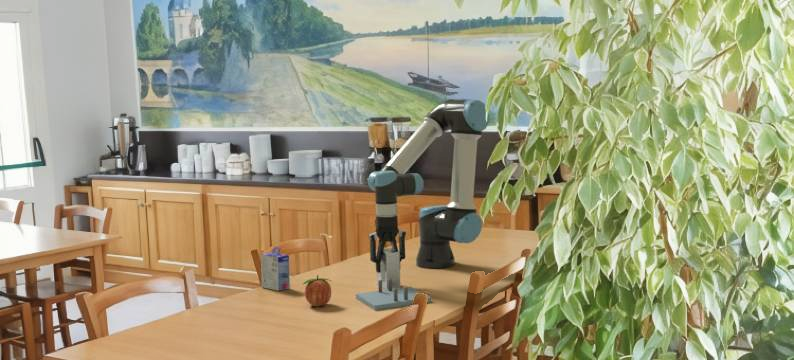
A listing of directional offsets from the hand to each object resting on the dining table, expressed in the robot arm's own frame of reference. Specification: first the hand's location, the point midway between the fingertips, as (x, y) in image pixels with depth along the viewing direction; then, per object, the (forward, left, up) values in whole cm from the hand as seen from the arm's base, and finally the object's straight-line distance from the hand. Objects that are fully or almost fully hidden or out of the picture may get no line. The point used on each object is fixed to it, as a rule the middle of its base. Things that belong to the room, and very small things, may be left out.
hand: (388, 280), depth 297 cm
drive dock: (+6, +18, -2) cm, 19 cm away
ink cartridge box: (+36, -18, -3) cm, 40 cm away
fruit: (+30, +12, -3) cm, 32 cm away
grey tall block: (0, 0, -2) cm, 2 cm away
